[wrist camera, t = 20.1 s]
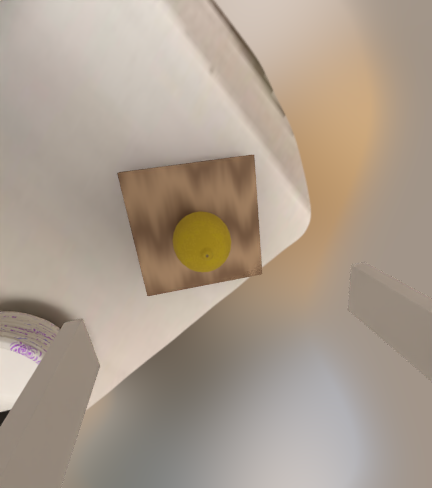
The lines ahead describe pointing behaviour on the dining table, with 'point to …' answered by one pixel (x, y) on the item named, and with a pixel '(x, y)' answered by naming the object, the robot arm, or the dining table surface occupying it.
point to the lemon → (202, 241)
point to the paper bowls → (21, 351)
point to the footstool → (184, 203)
